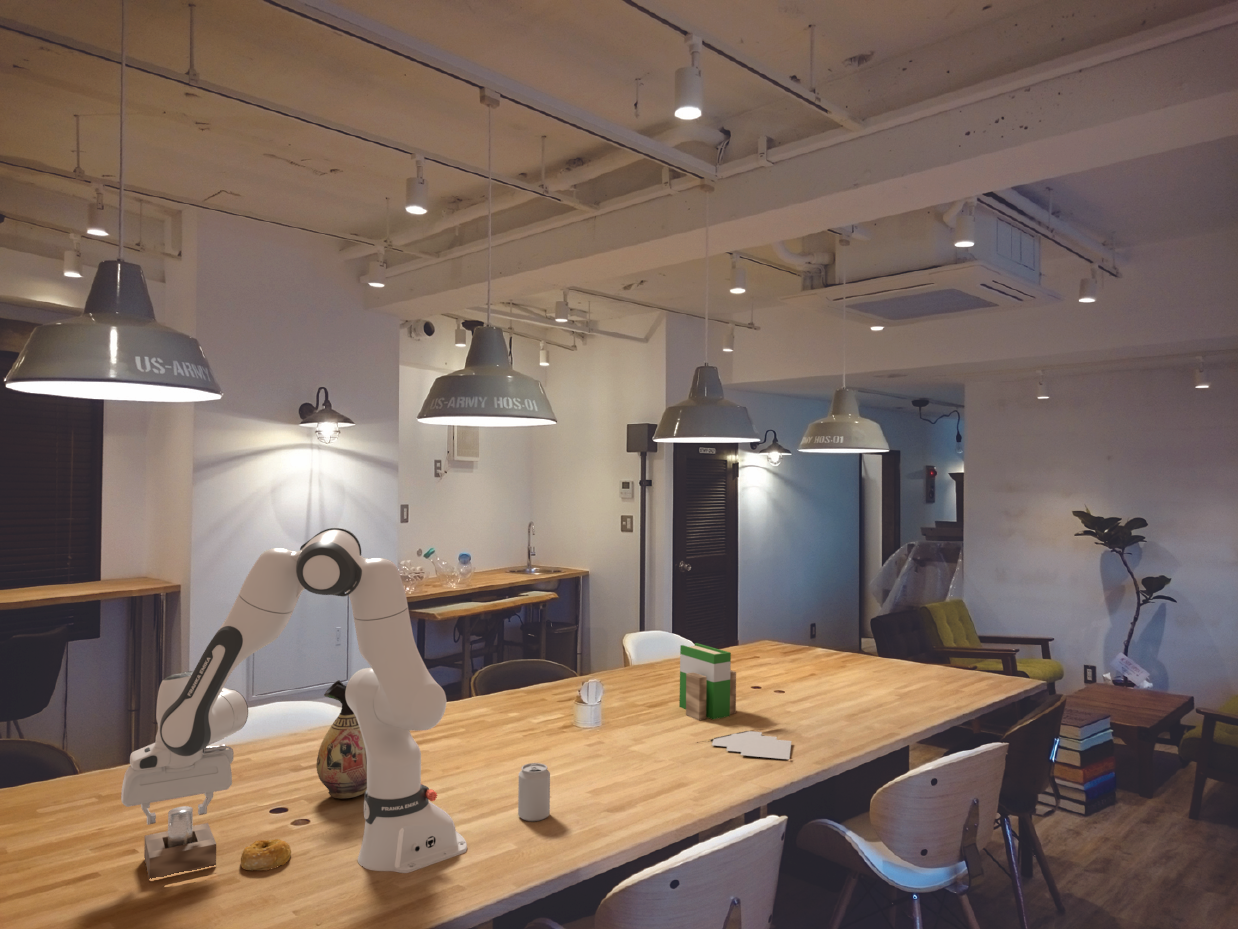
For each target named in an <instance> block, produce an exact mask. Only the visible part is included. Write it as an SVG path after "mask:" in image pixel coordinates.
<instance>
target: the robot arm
mask: <svg viewBox="0 0 1238 929" xmlns="http://www.w3.org/2000/svg"><path fill="white" fill-rule="evenodd" d="M398 569H399V568H398V567H397V565H396V564H395V563H394V562H393V561H391V560H390V559H387V558H383V557H372V558H367V557H364V556H363V555H362V547H361V543H360V541H359V539H358V538H357V536H356V535H355V534H354V533H353V532H351V531H350V530H348V529H346V528H343V527H329V528H326V529H324V530H321V531H320V532H318V533H317V534H315V535H314V536H313V537H311V538H310V539H309V540H306V542H305V543H303V544H302V545H301V546H300V548H299V550H298V551H295V550H290V549H287V548H283V547H275V548H274V547H273V548H269V549H266V550H265V551H263V552H262V553H261V554H260V556H259V557H258V558H257V560H256V561H255V563H254V564H253V566H252V567H251V569H249V572H248V574H247V575H246V577H245V579H244V581H243V584H242V586H241V588H240V590H239V592H238V595H237V596H236V599H235V601H234V603H233V605H232V607H231V609H230V611H229V612H228V614H227V616H226V618H225V619H224V621H223V623H222V624H221V626H220V627H219V628H218V630H217V632H216V633H215V634H214V636H213V637H212V638H211V640H210V642H209V643H208V645H207V646H206V648H205V650H204V652H203V653H202V655H201V657H200V659H199V661H198V662H197V665H196V666H195V668H194V670H190V671H183V672H180V673H179V672H178V673H175V674H171V675H169V676H167V677H165V678H164V679H163V680H162V681H161V683H160V685H159V688H158V693H157V700H156V712H155V713H156V716H155V717H156V722H157V732H156V735H155V742H153V743H151V744H148V745H147V746H144V747H141V748H139V749H137V750H134V751H132V752H131V753H130V756H129V765H130V766H128V767H127V769H126V771H125V773H124V776H123V781H122V786H121V796H120V799H121V804H122V805H123V806H125V807H127V808H129V807H135V806H140V808H141V810H142V811H143V813H144V815H145V816H146V825H148V826H149V825H154V824H156V823H157V822H156V819H157V814H156V812H155V811H154V812H150V810H149V809H150V808H151V803H157V802H162V801H168V800H175V799H182V798H186V797H191V796H198V795H204V796H205V799H204V800H203V802H202V803H200V804H197V808H198V809H197V814H198V816H202V815H207V814H208V806H209V805H210V803H211V801H212V800H213V798H214V793H216V792H221V791H227V790H229V789H230V788H231V786H232V784H233V775H232V766H231V764H233V761H234V754H235V753H234V749H233V748H232V747H231V746H229V745H227V744H219V745H213V744H215V743H217V742H220V741H221V740H223V739H225V738H227V737H229V736H231V735H232V736H233V735H234V734H235V733H237V732H239V731H240V730H242V729H243V727H244V726H245V725H246V723H247V720H248V718H249V706H248V703H247V700H246V699H245V697H244V696H243V695H242V693H241V692H239V691H237V690H235V689H231V688H226V687H225V685H226V683H227V681H228V679H229V677H230V676H231V674H232V673H233V671H234V670H235V669H237V667H238V666H239V665H240V664H241V663H242V662H244V661H245V660H246V659H247V658H249V657H250V656H251V655H253V654H254V653H256V652H258V651H259V650H261V649H263V648H264V647H266V646H268V645H270V644H271V643H273V642H274V641H276V640H277V639H278V638H279V637H280V635H281V634H282V632H283V631H284V630H285V628H286V627H287V625H288V624H289V621H290V620H291V617H292V615H293V612H294V610H295V608H296V606H297V603H298V601H299V599H300V596H301V595H302V592H304V591H305V590H306V591H308V592H310V593H312V594H316V595H321V596H337V597H343V598H344V597H347V596H348V597H349V599H350V603H351V610H352V615H353V622H354V628H355V633H356V639H357V646H358V650H359V653H360V654H361V656H362V658H363V659H364V660H365V661H366V662H367V664H368V666H370V667H366V668H365V667H364V668H361V669H359V670H357V671H355V673H354V674H352V675H351V677H350V679H349V680H348V682H347V684H346V685H345V686H346V691H345V697H346V702H347V704H348V706H349V707H350V708H351V710H352V711H353V713H354V715H355V716H356V719H357V721H358V724H359V727H360V730H361V734H362V737H363V741H364V745H365V750H366V758H367V790H366V791H365V793H364V800H363V816H364V817H363V818H364V820H365V821H364V830H363V836H362V842H361V847H360V849H359V854H358V856H357V862H358V864H359V865H360V866H361V867H362V866H363V867H362V868H364V869H366V870H370V871H376V872H397V873H399V874H408V873H412V872H414V871H418V870H421V869H423V868H425V867H428V866H432V865H434V864H436V863H440V862H442V861H445V860H449V859H451V858H454V857H456V856H459V855H462V854H465V853H466V852H467V850H468V844H467V841H466V839H465V838H464V836H462V834H460V833H459V832H458V831H457V829H456V825H455V821H454V819H453V818H452V817H451V815H449V813H448V812H446V811H445V810H444V809H443V808H441V807H439V806H437V805H436V804H434V803H433V802H434V801H436V800H437V798H438V794H437V792H436V791H435V790H434V789H432V788H429V786H427V785H425V784H423V783H422V782H421V781H422V752H421V751H422V750H421V749H420V747H419V745H418V743H417V742H416V740H415V738H413V735H412V734H411V731H415V732H416V731H428V730H431V729H433V728H434V727H436V726H437V725H438V724H439V722H440V721H441V720H442V718H443V716H444V715H445V712H446V708H447V695H446V692H445V690H444V689H443V687H442V686H441V685H440V684H439V683H437V681H436V680H435V679H434V677H433V676H432V674H431V673H430V672H429V669H428V668H427V666H426V664H425V662H424V660H423V658H422V656H421V654H420V652H419V649H418V647H417V644H416V642H415V641H416V640H415V637H414V634H413V628H412V622H411V618H410V616H411V615H410V611H409V604H408V600H407V599H408V598H407V593H406V590H405V587H404V586H405V585H404V583H403V580H402V577H401V574H400V571H399V570H398ZM211 745H212V746H211Z"/></svg>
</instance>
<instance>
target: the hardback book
mask: <svg viewBox="0 0 1238 929" xmlns="http://www.w3.org/2000/svg"><path fill="white" fill-rule="evenodd" d="M679 647H680V651H679V652H680V655H679V656H680V657H679V659H680V660H679V702H678V703H679V706H678V707H679V708H682V709H683V710H686V673H692V672H694V673H697V674H700V675H703V676H706V677H707V681H706V719H707V718H708V719H710V720H718V719H723V718H727V717H730V715H731V714H730V670H731V665H732V664H731V660H732V654H731V652H729V651H727V650H724V649H723V650H722V649H720V648H719V649H718V648H715V647H712V646H709V645H705V644H701V643H698V642H696V643H694V645H690V646H687V645H684V644H682V645H680V646H679Z"/></svg>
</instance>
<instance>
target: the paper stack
mask: <svg viewBox="0 0 1238 929" xmlns="http://www.w3.org/2000/svg"><path fill="white" fill-rule="evenodd" d="M762 733H763V732H762V731H752V730H745V731H739V732H736V733H731V734H726V735H722V736H717V737H714V738H713V740H712V743H711V746H717V747H726V749H725V751H727V752H728V751H729V752H737V753H740V756H747V757H756V758H757V757H758V758H759V757H760V758H769V759H770V758H771V759H778V760H779V759H780V760H790V757H791V748H792V740H786V739H785V740H784V739H778V737H777V736H771V735H770V736H768V735H763V734H762Z"/></svg>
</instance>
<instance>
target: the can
mask: <svg viewBox="0 0 1238 929" xmlns="http://www.w3.org/2000/svg"><path fill="white" fill-rule="evenodd" d="M517 791H518V794H517V795H518V796H517V797H518V799H517V800H518V802H517V807H518V808H517V813H518V814H517V816H518V817H519V818H521V819H522V820H523V821H526V822H539V821H543V820H546V819H547V818H548V817H549V816H550V812H551V811H550V810H551V808H550V806H551V805H550V803H551V800H550V799H551V772H550V771H549V770H548V765H546V764H545V763H541V762H540V763H539V762H531V763H529V762H528V763H526V764H524V765H522V766H521V770H520V771H519V772H518V790H517Z"/></svg>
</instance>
